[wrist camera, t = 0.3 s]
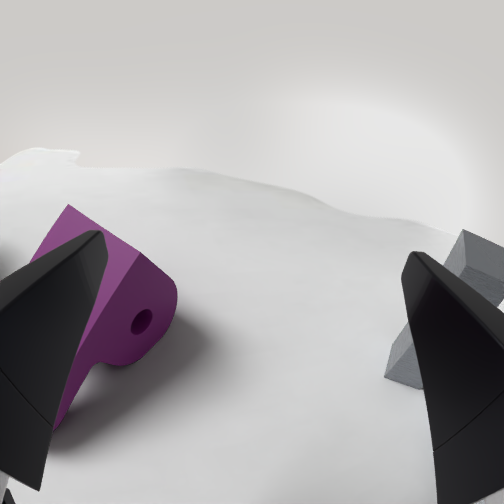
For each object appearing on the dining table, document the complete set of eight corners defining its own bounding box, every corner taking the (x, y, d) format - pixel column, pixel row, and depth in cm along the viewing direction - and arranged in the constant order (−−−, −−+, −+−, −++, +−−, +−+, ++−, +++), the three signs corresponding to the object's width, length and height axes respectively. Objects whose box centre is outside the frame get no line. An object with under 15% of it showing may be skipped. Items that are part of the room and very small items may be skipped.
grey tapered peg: (419, 389, 22) (513, 286, 13) (383, 377, 23) (466, 264, 14) (425, 356, 24) (505, 248, 15) (392, 344, 25) (462, 228, 17)
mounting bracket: (90, 454, 22) (190, 294, 26) (22, 460, 14) (141, 252, 19) (36, 389, 25) (120, 248, 30) (-27, 377, 18) (68, 203, 22)
